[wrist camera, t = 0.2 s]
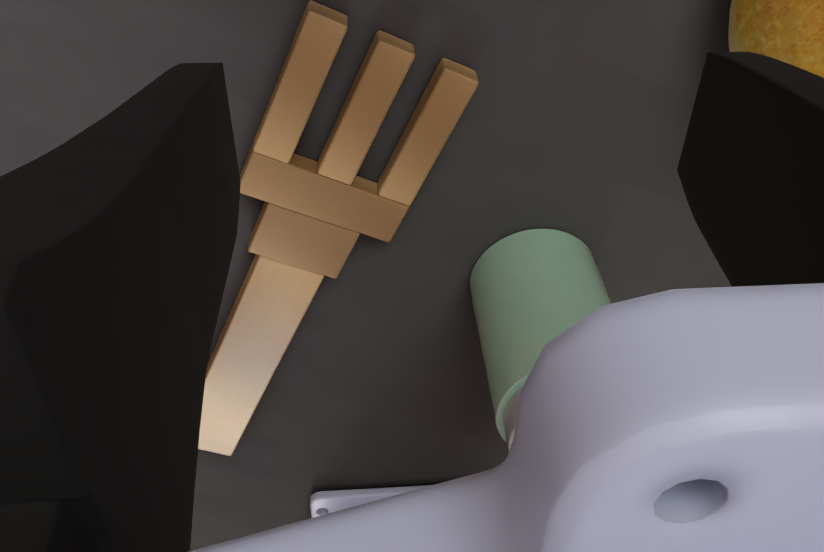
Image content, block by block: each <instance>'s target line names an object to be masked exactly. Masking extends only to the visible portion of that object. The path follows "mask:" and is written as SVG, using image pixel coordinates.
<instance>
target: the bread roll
mask: <svg viewBox="0 0 824 552" xmlns="http://www.w3.org/2000/svg"><path fill="white" fill-rule="evenodd" d="M728 34H729V51H730V52H753V53H757V54H761V55H765V56H768V57H771V58H774V59H777V60H780V61H783V62H785V63H788V64H791V65H794V66H796V67H799V68H801V69H804V70H806V71H808V72H811V73H813V74H816V75H818V76H821V77H823V78H824V0H732V1H731V6H730V14H729V30H728Z"/></svg>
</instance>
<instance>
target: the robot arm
mask: <svg viewBox="0 0 824 552" xmlns="http://www.w3.org/2000/svg"><path fill="white" fill-rule="evenodd" d="M677 170H678V174H679V177H680V180H681V183H682V186H683V189H684V192H685V195H686V198H687V201H688V203H689V206H690V208H691V211H692V214H693V216H694V219H695V221H696V223H697V225H698V227H699V229H700V230H701V232H702V234H703V236H704V238H705V239H706V241H707V243H708V245H709V247H710V249H711V250H712V252H713V254H714V256H715V258H716V259H717V261H718V263H719V265H720V266H721V268H722V270H723V271H724V273H725V275H726V277H727V278H728V280H729V282H730V284H731V285H732V287H714V288H689V289H672V290H667V291H663V292H658V293H654V294H650V295H646V296H641V297H637V298H633V299H628V300H624V301H620V302H616V303H611V304H607V305H603V306H601V307H599V308H598V309H596V310H595V311H593V312H592V313H591V314H589V315H588V316H586V317H585V318H583V319H582V320H580V321H579V322H577V323H576V324H575V325H573V326H572V327H570V328H569V329H567V330H566V331H564V332H563V333H561V334H560V335H559V336H557V337H556V338H554V339H553V340H551V341H550V342H548V343H547V344H545V345H544V347H543V349H542V351H541V353H540V355H539V357H538V359H537V361H536V362H535V364H534V366H533V368H532V370H531V372H530V374H529V376H528V378H527V380H526V382H525V383H524V385H523V387H522V389H521V391H520V397H519V404H518V411H517V418H516V425H515V431H514V438H513V441H512V444H511V447H510V450H509V453H508V456H507V458H506V460H505V461H504V462H503V463H501V464H500V465H498V466H497V467H495V468H493V469H490V470H486V471H483V472H479V473H475V474H472V475H468V476H464V477H461V478H457V479H453V480H450V481H446V482H442V483H439V484H435V485H423V486H405V487H387V488H369V489H350V490H332V491H319V492H316V493H314V494H313V495H312V496H311V498H310V508H311V516H312V518H310V519H306V520H303V521H299V522H295V523H291V524H288V525H284V526H280V527H277V528H273V529H269V530H266V531H262V532H258V533H255V534H251V535H247V536H244V537H240V538H236V539H233V540H229V541H225V542H222V543H218V544H214V545H211V546H207V547H203V548H200V549H196V550H192V551H190V542H191V528H192V515H193V501H194V488H195V477H196V466H197V455H198V444H199V433H200V423H201V414H202V404H203V395H204V386H205V377H206V369H207V364H208V358H209V353H210V347H211V343H212V339H213V334H214V330H215V326H216V322H217V318H218V313H219V309H220V305H221V301H222V296H223V292H224V288H225V284H226V280H227V275H228V271H229V267H230V262H231V258H232V253H233V249H234V245H235V240H236V235H237V224H238V213H239V199H240V184H241V182H240V176H239V169H238V163H237V156H236V150H235V143H234V136H233V130H232V123H231V117H230V110H229V103H228V97H227V90H226V84H225V77H224V71H223V64H222V63H183V64H178V65H176V66H174V67H172V68H171V69H169V70H168V71H166V72H165V73H163V74H162V75H161V76H159V77H158V78H157V79H155V80H154V81H153V82H151V83H150V84H149V85H147V86H146V87H145V88H143V89H142V90H141V91H139V92H138V93H137V94H135V95H134V96H133V97H131V98H130V99H129V100H127V101H126V102H125V103H123V104H122V105H121V106H119V107H118V108H116V109H115V110H114V111H112V112H111V113H110V114H108V115H107V116H105V117H104V118H102V119H101V120H99V121H98V122H96V123H95V124H93V125H91V126H90V127H88V128H87V129H85V130H84V131H82V132H81V133H79V134H78V135H76V136H75V137H73V138H72V139H70V140H69V141H67V142H66V143H64V144H62V145H60V146H59V147H57V148H55V149H54V150H52V151H50V152H48V153H46V154H45V155H43V156H41V157H39V158H37V159H35V160H33V161H31V162H29V163H27V164H25V165H23V166H21V167H19V168H17V169H15V170H13V171H11V172H9V173H7V174H5V175H3V176H1V177H0V552H824V78H823V77H821V76H818V75H816V74H813V73H811V72H808V71H806V70H804V69H801V68H799V67H796V66H794V65H791V64H788V63H785V62H783V61H780V60H777V59H774V58H771V57H768V56H765V55H761V54H757V53H753V52H708V54H707V58H706V62H705V65H704V69H703V73H702V77H701V81H700V85H699V88H698V92H697V96H696V100H695V104H694V107H693V111H692V115H691V119H690V123H689V127H688V130H687V134H686V138H685V142H684V146H683V150H682V153H681V157H680V161H679V165H678V169H677Z"/></svg>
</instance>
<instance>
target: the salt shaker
mask: <svg viewBox="0 0 824 552" xmlns="http://www.w3.org/2000/svg"><path fill="white" fill-rule="evenodd" d="M470 294H471V299H472V304H473V309H474V314H475V319H476V324H477V329H478V335H479V340H480V345H481V350H482V355H483V360H484V365H485V370H486V376H487V381H488V386H489V391H490V396H491V401H492V406H493V411H494V416H495V422H496V427H497V429H498V432H499V434H500V435H501V437H502V438H503V440H504V441H505V442H506V443H507V446H508V451H509V450H510V447H511V444H512V441H513V438H514V431H515V425H516V418H517V411H518V404H519V397H520V391H521V389H522V387H523V385H524V383H525V382H526V380H527V378H528V376H529V374H530V372H531V370H532V368H533V366H534V364H535V362H536V361H537V359H538V357H539V355H540V353H541V351H542V349H543V347H544V345H545V344H547V343H548V342H550V341H551V340H553V339H554V338H556V337H557V336H559V335H560V334H561V333H563V332H564V331H566V330H567V329H569V328H570V327H572V326H573V325H575V324H576V323H577V322H579V321H580V320H582V319H583V318H585V317H586V316H588V315H589V314H591V313H592V312H593V311H595V310H596V309H598V308H599V307H601V306H603V305H607V304H611V303H612V302H611V300H610V297H609V295H608V292H607V290H606V287H605V285H604V282H603V280H602V277H601V274H600V272H599V269H598V267H597V264H596V262H595V259H594V257H593V255H592V253H591V251H590V250H589V248H588V247H587V246H586V245H585V244H584V243H583V242H582V241H581V240H579V239H578V238H576V237H575V236H573V235H571V234H569V233H566V232H563V231H559V230H555V229H540V228H539V229H530V230H524V231H520V232H517V233H514V234H511V235H509V236H507V237H505V238H503V239H501V240H499V241H498V242H496V243H495V244H493V245H492V246H491V247H489V248H488V249H487V250H486V251H485V252H484V253H483V254H482V255H481V256H480V258H479V259H478V261H477V262H476V264H475V266H474V268H473V270H472V273H471V277H470Z"/></svg>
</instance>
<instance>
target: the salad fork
mask: <svg viewBox="0 0 824 552" xmlns="http://www.w3.org/2000/svg"><path fill="white" fill-rule="evenodd" d="M347 29H348V19H347V16H346V15H344V14H342V13H340V12H337V11H335V10H333V9H330V8H328V7H326V6H323V5H321V4H319V3H316V2H314V1H311V0H310V1H309V2H308V4H307V7H306V9H305V12H304V14H303V17H302V19H301V22H300V24H299V27H298V29H297V32H296V34H295V37H294V40H293V42H292V45H291V47H290V50H289V52H288V55H287V57H286V60H285V62H284V65H283V67H282V70H281V72H280V75H279V77H278V80H277V82H276V85H275V88H274V90H273V93H272V95H271V98H270V100H269V103H268V105H267V108H266V110H265V113H264V115H263V118H262V120H261V123H260V125H259V128H258V131H257V133H256V136H255V139H254V141H253V143H252V146H251V148H250V151H249V153H248V156H247V158H246V161H245V163H244V166H243V168H242V171H241V174H240V182H241V184H240V193H241V194H244V195H247V196H250V197H253V198H256V199H259V200H262V201H265V202H264V205H263V207H262V209H261V212H260V214H259V216H258V219H257V221H256V224H255V226H254V228H253V231H252V233H251V235H250V239H249V246H248V252H251V253H254V254H256V255H255V257H254V260H253V262H252V264H251V266H250V269H249V271H248V273H247V275H246V278H245V280H244V282H243V284H242V287H241V289H240V291H239V294H238V296H237V298H236V300H235V303H234V305H233V307H232V309H231V312H230V314H229V316H228V318H227V321H226V323H225V325H224V328H223V330H222V332H221V334H220V337H219V339H218V341H217V343H216V346H215V348H214V350H213V352H212V355H211V357H210V359H209V362H208V364H207V369H206V377H205V386H204V395H203V404H202V414H201V423H200V433H199V444H198V449H201V450H205V451H210V452H214V453H219V454H223V455H228V456H231V455H232V453H233V452H234V450H235V448H236V446H237V444H238V442H239V440H240V438H241V436H242V434H243V432H244V430H245V428H246V426H247V425H248V423H249V421H250V419H251V417H252V415H253V413H254V411H255V409H256V407H257V405H258V403H259V401H260V399H261V397H262V396H263V394H264V392H265V390H266V388H267V386H268V384H269V382H270V380H271V378H272V376H273V374H274V372H275V370H276V369H277V367H278V365H279V363H280V361H281V359H282V357H283V355H284V353H285V351H286V349H287V347H288V345H289V343H290V342H291V340H292V338H293V336H294V334H295V332H296V330H297V328H298V326H299V324H300V322H301V320H302V318H303V316H304V314H305V313H306V311H307V309H308V307H309V305H310V303H311V301H312V299H313V297H314V295H315V293H316V291H317V289H318V287H319V286H320V284H321V282H322V280H323V278H324V275H325V276H328V277H331V278H334V279H336V278H337V277H338V275H339V273H340V271H341V269H342V267H343V265H344V263H345V262H346V260H347V258H348V256H349V254H350V252H351V250H352V248H353V247H354V245H355V243H356V241H357V239H358V237H359V235H360V233H361V234H364V235H367V236H370V237H373V238H376V239H379V240H382V241H385V242H390V241H391V239H392V238H393V236H394V234H395V232H396V230H397V229H398V227H399V225H400V223H401V222H402V220H403V218H404V216H405V214H406V213H407V211H408V209H409V206H410V205H411V203H412V202H413V200H414V198H415V196H416V195H417V193H418V191H419V189H420V187H421V186H422V184H423V182H424V180H425V179H426V177H427V175H428V173H429V171H430V170H431V168H432V166H433V164H434V163H435V161H436V159H437V157H438V156H439V154H440V152H441V150H442V148H443V147H444V145H445V143H446V141H447V140H448V138H449V136H450V134H451V132H452V131H453V129H454V127H455V125H456V124H457V122H458V120H459V118H460V116H461V115H462V113H463V111H464V109H465V108H466V106H467V104H468V102H469V101H470V99H471V97H472V95H473V93H474V92H475V90H476V88H477V86H478V85H479V81H478V77H477V74H476V72H475V71H474V70H472V69H470V68H467V67H465V66H463V65H460V64H458V63H456V62H453V61H451V60H449V59H446V58H442V59H441V60H440V62H439V64H438V66H437V68H436V70H435V72H434V74H433V76H432V78H431V80H430V82H429V83H428V85H427V87H426V89H425V91H424V93H423V95H422V97H421V99H420V101H419V103H418V105H417V106H416V108H415V110H414V112H413V114H412V116H411V118H410V120H409V122H408V124H407V126H406V128H405V129H404V131H403V133H402V135H401V137H400V139H399V141H398V143H397V145H396V147H395V149H394V151H393V152H392V154H391V156H390V158H389V160H388V162H387V164H386V166H385V168H384V170H383V172H382V174H381V175H380V177H379V179H378V183H375V182H373V181H370V180H367V179H364V178H361V177H359V176H356V174H357V172H358V170H359V168H360V166H361V164H362V162H363V160H364V158H365V156H366V154H367V152H368V150H369V148H370V146H371V144H372V142H373V140H374V138H375V136H376V134H377V132H378V130H379V128H380V126H381V124H382V122H383V120H384V118H385V116H386V114H387V112H388V110H389V108H390V106H391V104H392V102H393V100H394V98H395V96H396V94H397V92H398V90H399V88H400V86H401V84H402V82H403V80H404V78H405V76H406V74H407V72H408V70H409V68H410V66H411V64H412V62H413V60H414V58H415V52H414V46H413V45H412V44H411V43H409V42H407V41H404V40H402V39H400V38H397V37H395V36H393V35H390V34H388V33H386V32H383V31H381V30H378V31H377V32H376V34H375V37H374V39H373V41H372V43H371V45H370V47H369V50H368V52H367V54H366V56H365V58H364V60H363V63H362V65H361V67H360V69H359V71H358V74H357V76H356V78H355V80H354V82H353V84H352V87H351V89H350V91H349V93H348V95H347V98H346V100H345V102H344V104H343V106H342V108H341V111H340V113H339V115H338V117H337V119H336V121H335V124H334V126H333V128H332V130H331V132H330V135H329V137H328V139H327V141H326V143H325V145H324V148H323V150H322V152H321V154H320V156H319V158H318V162H317V161H314V160H311V159H308V158H306V157H303V156H300V155H297V154H295V153H294V151H295V148H296V146H297V144H298V142H299V139H300V137H301V135H302V132H303V130H304V128H305V125H306V123H307V121H308V119H309V116H310V114H311V112H312V109H313V107H314V105H315V102H316V100H317V98H318V96H319V93H320V91H321V89H322V86H323V84H324V82H325V79H326V77H327V75H328V73H329V70H330V68H331V66H332V63H333V61H334V59H335V57H336V54H337V52H338V50H339V47H340V45H341V43H342V40H343V38H344V36H345V34H346V31H347Z"/></svg>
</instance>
